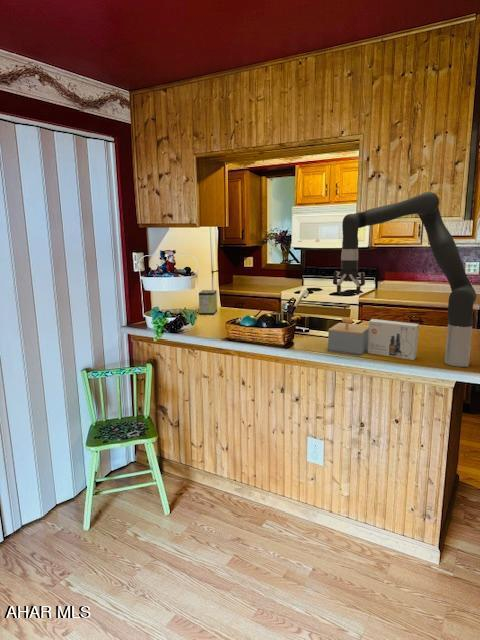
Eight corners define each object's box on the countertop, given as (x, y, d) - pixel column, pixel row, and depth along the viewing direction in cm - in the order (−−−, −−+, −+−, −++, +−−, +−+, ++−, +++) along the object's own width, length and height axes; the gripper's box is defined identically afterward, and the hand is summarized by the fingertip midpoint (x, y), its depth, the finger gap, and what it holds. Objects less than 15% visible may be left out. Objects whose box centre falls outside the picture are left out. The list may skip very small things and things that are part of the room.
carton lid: (371, 327, 209) (371, 314, 208) (362, 334, 195) (362, 321, 194) (339, 324, 217) (339, 312, 216) (328, 330, 204) (328, 317, 202)
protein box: (217, 310, 311) (216, 289, 308) (214, 315, 296) (213, 292, 293) (203, 310, 312) (202, 289, 309) (199, 315, 297) (198, 293, 294)
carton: (370, 347, 211) (371, 327, 209) (361, 355, 198) (362, 334, 196) (338, 343, 219) (339, 324, 217) (327, 351, 206) (328, 331, 204)
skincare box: (366, 353, 201) (368, 320, 198) (370, 350, 205) (372, 318, 202) (414, 360, 189) (416, 325, 186) (416, 357, 194) (419, 323, 190)
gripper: (367, 258, 194) (365, 294, 198) (337, 258, 201) (335, 292, 205) (363, 260, 188) (361, 296, 191) (331, 259, 195) (330, 294, 199)
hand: (348, 294), depth 198 cm, fingers open, 8 cm apart
